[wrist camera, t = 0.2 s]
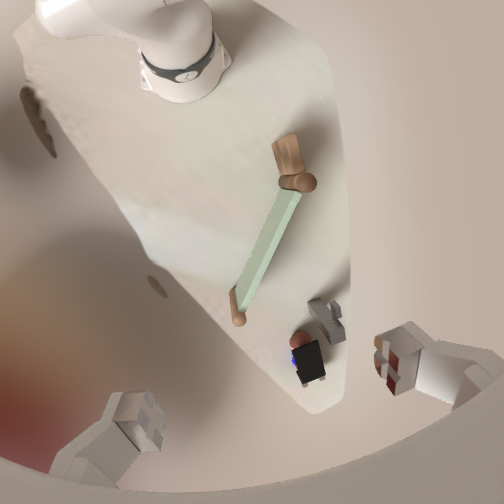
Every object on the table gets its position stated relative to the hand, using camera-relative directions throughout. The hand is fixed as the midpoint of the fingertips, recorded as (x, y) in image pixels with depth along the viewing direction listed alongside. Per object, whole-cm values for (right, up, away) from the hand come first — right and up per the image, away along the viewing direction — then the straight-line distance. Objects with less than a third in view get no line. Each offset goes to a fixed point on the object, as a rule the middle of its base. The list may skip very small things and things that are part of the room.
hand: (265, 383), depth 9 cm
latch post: (+14, -6, +53) cm, 55 cm away
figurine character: (+12, -20, +56) cm, 61 cm away
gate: (+1, +6, +47) cm, 48 cm away
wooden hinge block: (+5, +21, +45) cm, 50 cm away
